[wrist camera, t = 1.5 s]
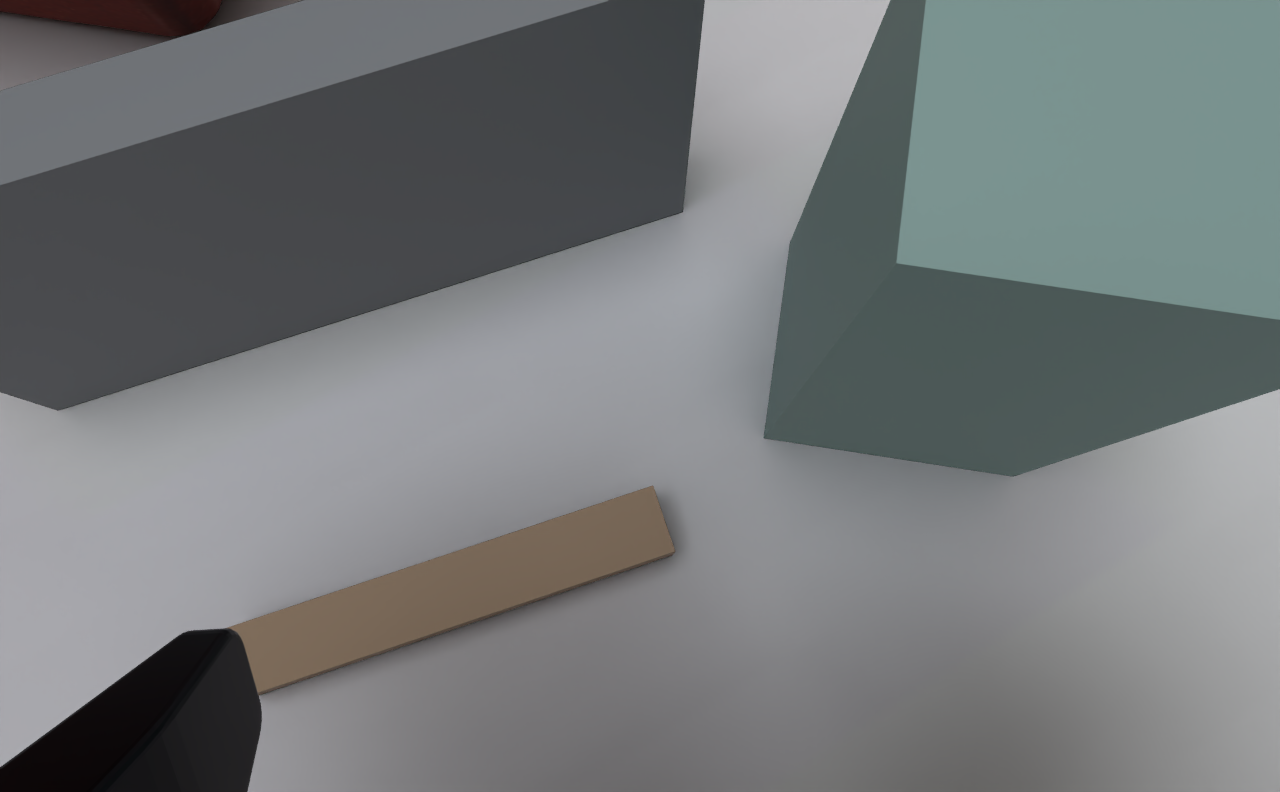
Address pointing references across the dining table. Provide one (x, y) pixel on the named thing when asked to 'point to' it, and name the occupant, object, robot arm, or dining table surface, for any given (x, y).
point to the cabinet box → (1038, 233)
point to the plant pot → (123, 13)
